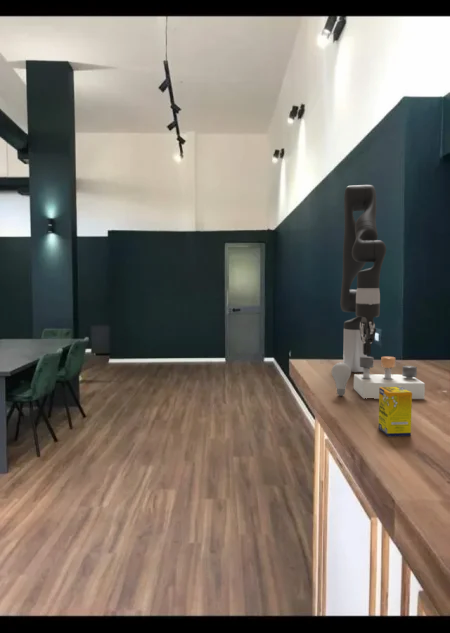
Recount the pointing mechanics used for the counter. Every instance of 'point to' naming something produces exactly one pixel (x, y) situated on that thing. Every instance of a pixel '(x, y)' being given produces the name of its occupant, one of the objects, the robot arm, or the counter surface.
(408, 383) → the mounting board
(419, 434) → the counter surface
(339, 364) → the lightbulb
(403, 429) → the supplement box
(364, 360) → the charcoal knob
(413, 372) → the charcoal knob
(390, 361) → the middle terracotta knob
